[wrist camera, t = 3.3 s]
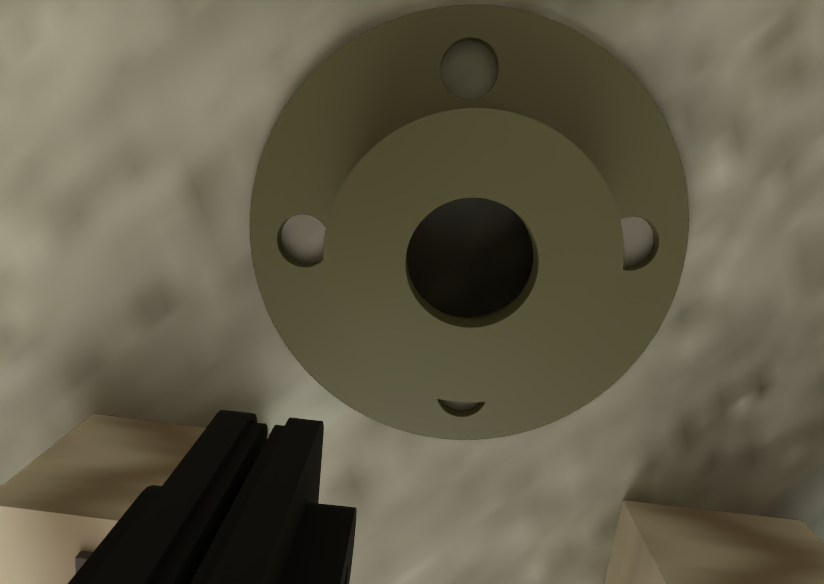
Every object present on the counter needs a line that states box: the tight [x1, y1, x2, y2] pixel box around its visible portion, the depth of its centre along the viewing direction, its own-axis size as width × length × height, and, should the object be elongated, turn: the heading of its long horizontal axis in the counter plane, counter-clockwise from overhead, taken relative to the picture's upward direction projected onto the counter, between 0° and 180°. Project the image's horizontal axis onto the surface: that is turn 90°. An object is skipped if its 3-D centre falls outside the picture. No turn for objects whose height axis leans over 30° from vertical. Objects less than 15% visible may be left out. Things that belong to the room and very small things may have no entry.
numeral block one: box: [0, 414, 269, 584], centre depth 21 cm, size 7×7×6 cm
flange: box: [250, 5, 689, 440], centre depth 19 cm, size 5×15×15 cm
